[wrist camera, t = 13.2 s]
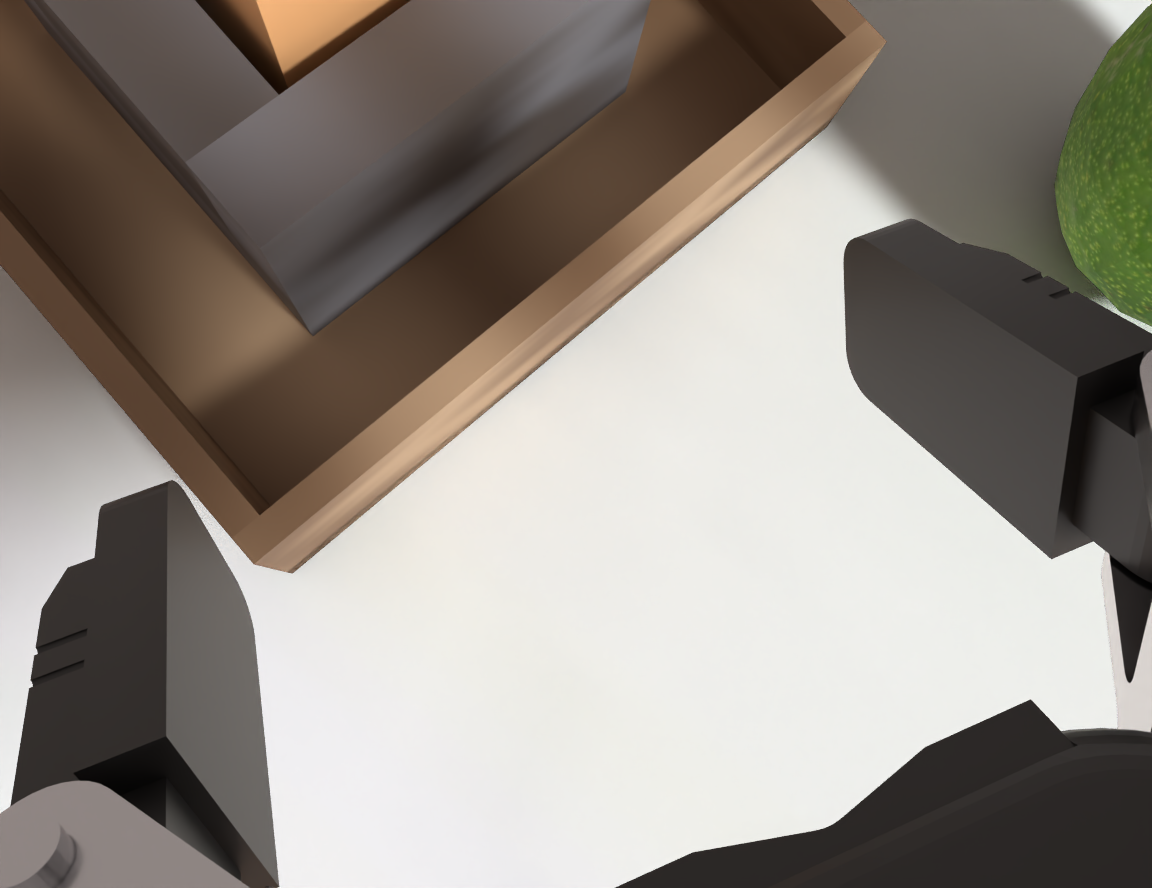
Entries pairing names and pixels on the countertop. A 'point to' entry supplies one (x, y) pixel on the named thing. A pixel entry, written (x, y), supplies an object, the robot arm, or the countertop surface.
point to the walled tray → (427, 322)
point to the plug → (294, 31)
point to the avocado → (1113, 175)
